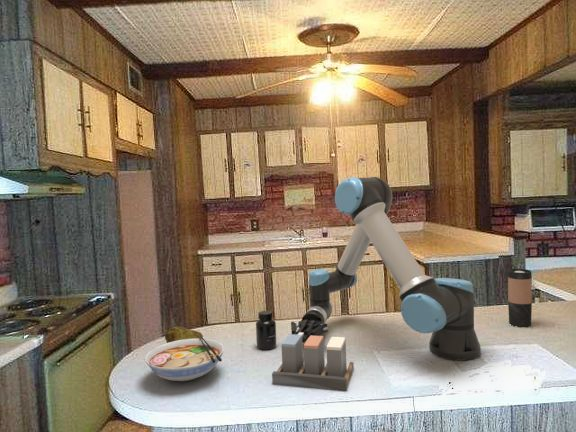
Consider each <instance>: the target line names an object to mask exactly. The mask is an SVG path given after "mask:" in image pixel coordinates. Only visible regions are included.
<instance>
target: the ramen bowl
mask: <svg viewBox="0 0 576 432" xmlns="http://www.w3.org/2000/svg"><path fill="white" fill-rule="evenodd" d="M199 335H200V334H199ZM199 335H198V337H199ZM200 336H201V335H200ZM199 338H200V337H199ZM201 338H202V336H201ZM201 338H200V339H195V338H194V339H184V340H177V341H173V342H169V343H167V342H166V343H163V344H160V345H158V346H156V347H154V348H152V349H151V350H150V351H147V353H146V354H145V357H144V359H143V360H144V362H145V363H146V365H147V366H148V367H149V368H150V369H151V371H152V372H153V373H154V374H155V375H156V376H157V377H159V378H162V379H166V380H168V381H173V382H174V381H175V382H176V381H177V382H189V381H193V380H195V379H197V378H200V377H202V376H204V375H206V374H208V373H209V372H211V371H212V370H213V369H214V367H215V366H216V365H217V364H218V363H219V362H222V361H223V359H222V356H223V354H224V350H225V349H224V344H223V343H220V342H219V341H218V340H214V339H209V338H204V337H203V338H202V339H201Z"/></svg>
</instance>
